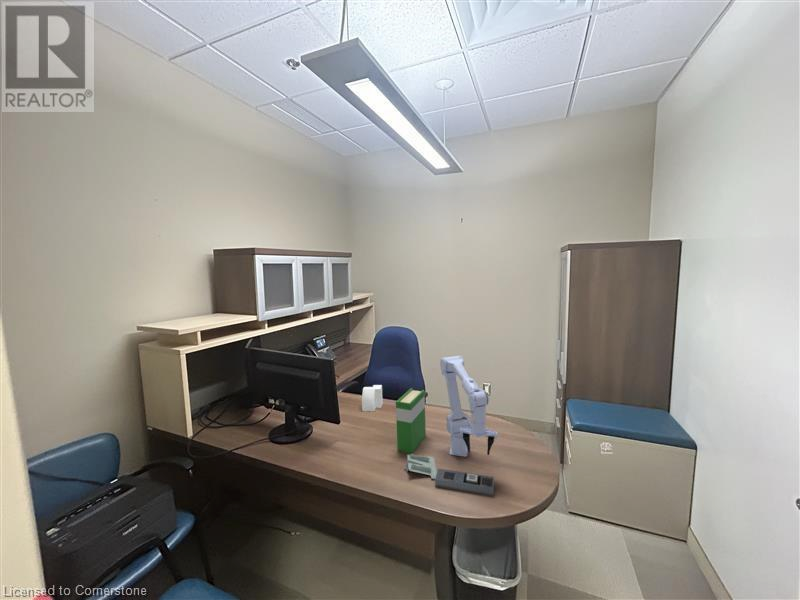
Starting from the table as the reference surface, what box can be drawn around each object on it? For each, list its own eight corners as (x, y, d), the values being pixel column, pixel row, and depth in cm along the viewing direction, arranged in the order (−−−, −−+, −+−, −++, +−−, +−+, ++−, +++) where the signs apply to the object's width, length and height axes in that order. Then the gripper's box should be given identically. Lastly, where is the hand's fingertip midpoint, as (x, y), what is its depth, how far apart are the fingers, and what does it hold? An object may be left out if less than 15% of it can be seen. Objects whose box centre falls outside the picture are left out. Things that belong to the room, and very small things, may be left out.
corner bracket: (382, 403, 208) (381, 385, 207) (379, 411, 197) (379, 392, 196) (366, 403, 209) (365, 384, 208) (362, 411, 198) (361, 392, 197)
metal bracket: (408, 468, 133) (406, 447, 148) (404, 481, 133) (403, 459, 148) (442, 476, 133) (437, 454, 148) (438, 489, 134) (433, 466, 149)
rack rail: (438, 475, 136) (438, 468, 136) (493, 484, 130) (493, 476, 130) (435, 486, 130) (435, 479, 129) (493, 496, 123) (493, 488, 123)
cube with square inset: (467, 482, 131) (467, 473, 131) (477, 484, 130) (477, 474, 130) (466, 489, 128) (466, 479, 127) (477, 491, 126) (477, 481, 126)
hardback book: (412, 432, 171) (411, 388, 169) (425, 435, 168) (424, 390, 165) (397, 450, 156) (395, 401, 153) (412, 453, 152) (410, 404, 150)
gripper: (459, 423, 132) (459, 455, 133) (496, 427, 127) (496, 460, 129) (461, 415, 138) (461, 445, 140) (497, 419, 134) (497, 450, 136)
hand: (478, 452), depth 135 cm, fingers open, 7 cm apart
